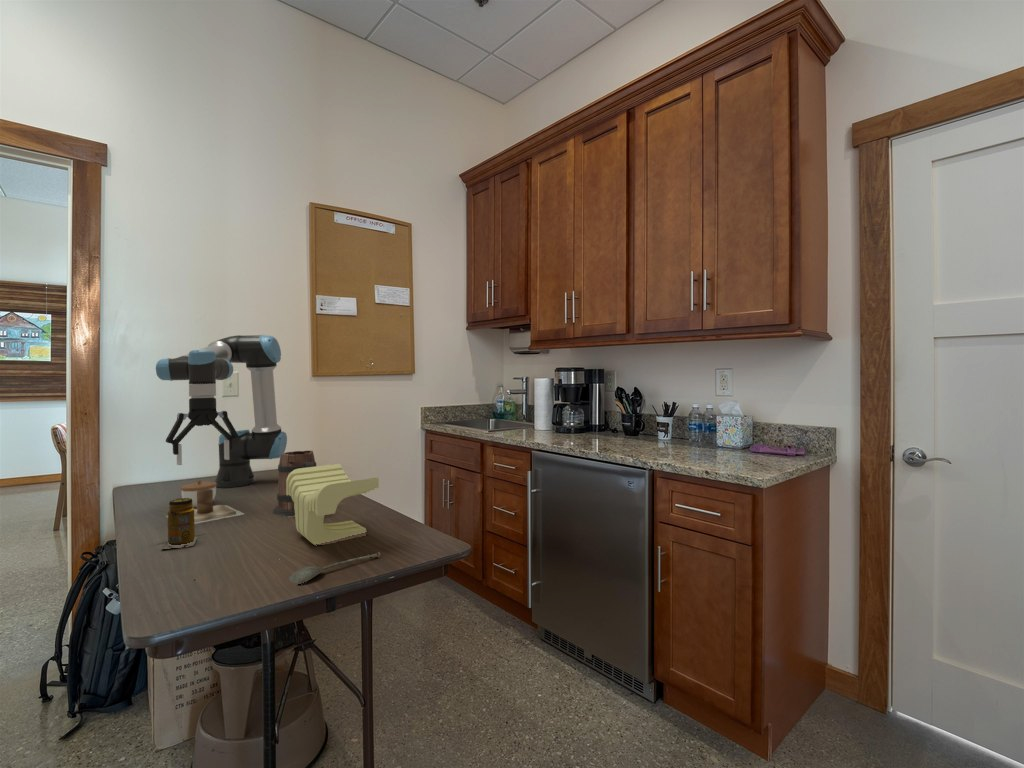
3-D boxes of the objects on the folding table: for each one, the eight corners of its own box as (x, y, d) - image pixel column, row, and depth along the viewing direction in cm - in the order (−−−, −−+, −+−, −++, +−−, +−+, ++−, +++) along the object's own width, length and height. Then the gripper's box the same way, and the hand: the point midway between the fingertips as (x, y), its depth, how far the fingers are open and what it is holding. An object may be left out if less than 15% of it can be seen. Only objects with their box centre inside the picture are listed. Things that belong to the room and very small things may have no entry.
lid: (221, 507, 169) (221, 484, 169) (236, 514, 160) (235, 490, 160) (174, 516, 159) (173, 491, 159) (186, 523, 150) (185, 498, 150)
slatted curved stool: (287, 530, 144) (285, 470, 144) (341, 519, 154) (339, 463, 154) (318, 557, 120) (317, 486, 120) (379, 543, 130) (378, 477, 130)
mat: (226, 506, 172) (226, 505, 172) (244, 515, 160) (244, 514, 160) (165, 518, 159) (165, 516, 159) (180, 528, 147) (180, 526, 147)
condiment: (198, 538, 138) (197, 495, 138) (193, 546, 130) (193, 502, 130) (167, 542, 135) (166, 499, 135) (160, 551, 127) (159, 505, 127)
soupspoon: (281, 584, 107) (292, 595, 103) (281, 569, 107) (291, 579, 102) (373, 555, 122) (386, 563, 118) (373, 541, 122) (386, 549, 117)
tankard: (263, 511, 166) (262, 452, 166) (313, 502, 177) (312, 447, 177) (288, 525, 149) (286, 460, 149) (341, 514, 160) (340, 453, 160)
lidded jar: (204, 510, 168) (203, 483, 168) (173, 510, 169) (173, 483, 169) (223, 502, 179) (222, 477, 179) (194, 502, 179) (194, 477, 179)
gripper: (240, 396, 171) (241, 456, 171) (153, 398, 153) (154, 465, 153) (247, 396, 166) (248, 458, 166) (159, 398, 148) (160, 468, 148)
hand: (203, 462), depth 159 cm, fingers open, 13 cm apart
